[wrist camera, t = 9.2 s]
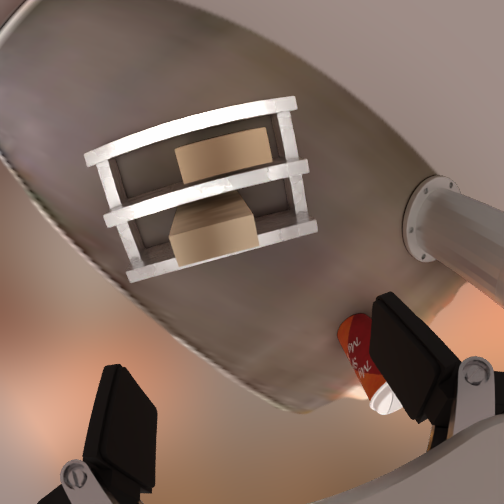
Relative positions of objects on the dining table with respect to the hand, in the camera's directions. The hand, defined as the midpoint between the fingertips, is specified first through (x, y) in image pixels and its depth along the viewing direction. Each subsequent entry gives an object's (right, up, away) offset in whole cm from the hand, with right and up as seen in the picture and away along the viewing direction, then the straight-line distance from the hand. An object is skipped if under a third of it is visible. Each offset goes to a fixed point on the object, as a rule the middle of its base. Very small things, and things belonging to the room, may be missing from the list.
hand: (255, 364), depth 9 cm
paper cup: (+15, -7, +29) cm, 33 cm away
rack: (-5, +11, +17) cm, 21 cm away
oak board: (-4, +14, +16) cm, 21 cm away
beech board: (-4, +8, +18) cm, 20 cm away
